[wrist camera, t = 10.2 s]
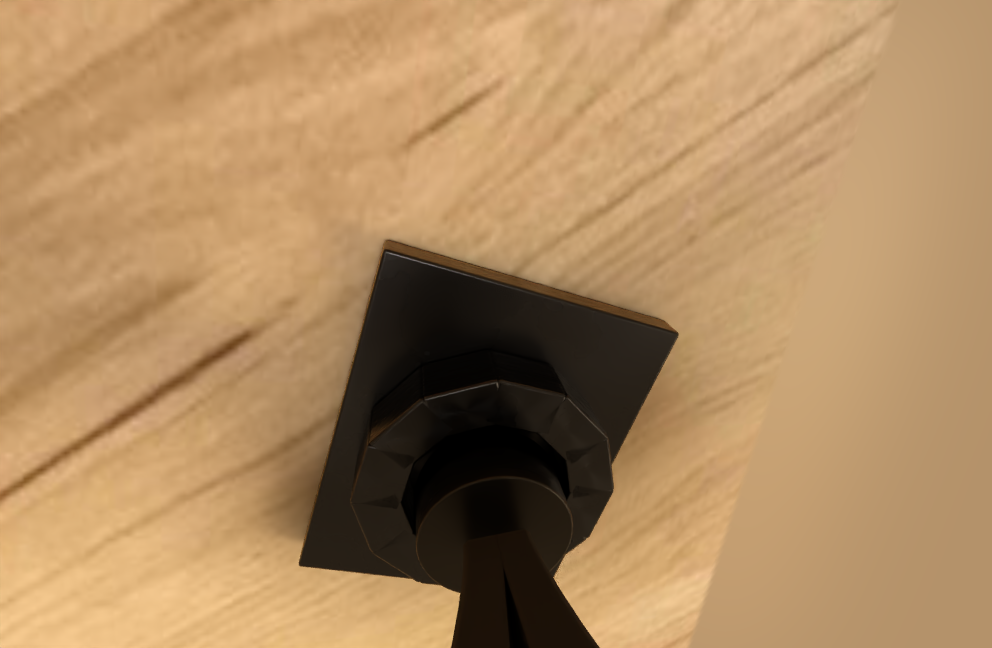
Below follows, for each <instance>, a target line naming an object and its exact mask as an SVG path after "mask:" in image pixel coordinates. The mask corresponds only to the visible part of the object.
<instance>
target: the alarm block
mask: <svg viewBox="0 0 992 648" xmlns="http://www.w3.org/2000/svg"><path fill="white" fill-rule="evenodd" d="M678 335H679V334H678V332H677V331H675V330H674V329H673V328H672V327H671V326H670V325H669V324H667V323H666V322H665V321H663V320H660V319H656V318H653V317H650V316H646V315H643V314H639V313H636V312H632V311H629V310H626V309H622V308H619V307H615V306H612V305H608V304H605V303H602V302H598V301H595V300H591V299H588V298H584V297H581V296H578V295H574V294H571V293H567V292H564V291H560V290H557V289H554V288H550V287H547V286H543V285H540V284H536V283H533V282H530V281H526V280H523V279H519V278H516V277H513V276H509V275H506V274H502V273H499V272H495V271H492V270H489V269H485V268H482V267H478V266H475V265H471V264H468V263H465V262H461V261H458V260H454V259H451V258H447V257H444V256H441V255H437V254H434V253H430V252H427V251H423V250H420V249H417V248H413V247H410V246H406V245H403V244H399V243H396V242H393V241H389V240H387V241H385V243H384V246H383V250H382V254H381V257H380V261H379V265H378V268H377V272H376V276H375V280H374V283H373V287H372V291H371V294H370V298H369V302H368V306H367V309H366V313H365V317H364V320H363V324H362V328H361V332H360V335H359V339H358V343H357V346H356V350H355V354H354V358H353V361H352V365H351V369H350V372H349V376H348V380H347V383H346V387H345V391H344V395H343V398H342V402H341V406H340V409H339V413H338V417H337V421H336V424H335V428H334V432H333V435H332V439H331V443H330V447H329V450H328V454H327V458H326V461H325V465H324V469H323V473H322V476H321V480H320V484H319V487H318V491H317V495H316V499H315V502H314V506H313V510H312V513H311V517H310V521H309V525H308V528H307V532H306V536H305V539H304V543H303V547H302V551H301V555H300V559H299V566H303V567H311V568H320V569H329V570H338V571H347V572H356V573H364V574H373V575H382V576H391V577H400V578H408V579H414V580H415V581H417V582H421V583H425V584H434V585H440V584H438V583H437V582H435V581H434V580H433V579H432V578H431V577H430V576H429V575H428V574H427V573H426V572H425V570H424V569H423V567H422V566H421V564H420V561H419V559H418V556H417V552H416V493H415V491H416V483H417V479H418V476H419V474H420V471H421V469H422V468H423V466H424V464H425V463H426V461H427V460H428V459H429V458H430V457H431V455H432V454H433V453H434V452H436V451H437V450H438V449H439V448H440V447H442V446H443V445H444V444H446V443H447V442H449V441H451V440H453V439H455V438H457V437H459V436H462V435H464V434H468V433H471V432H475V431H480V430H491V429H493V430H506V431H512V432H515V433H519V434H521V435H524V436H526V437H528V438H530V439H531V440H533V441H535V442H536V443H537V444H538V445H540V446H541V447H542V448H543V449H544V451H545V452H546V453H547V455H548V456H549V458H550V460H551V462H552V464H553V467H554V469H555V472H556V475H557V477H558V480H559V482H560V485H561V488H562V490H563V493H564V496H565V498H566V501H567V503H568V506H569V509H570V511H571V515H572V519H573V532H572V538H571V541H570V544H569V547H568V549H567V551H566V552H565V554H564V556H565V555H566V554H567V553H568V552H570V551H571V550H573V549H574V548H575V547H577V546H578V545H579V544H581V543H582V542H583V541H585V540H586V538H588V537H589V536H590V534H591V533H592V531H593V529H594V527H595V525H596V523H597V521H598V519H599V518H600V516H601V514H602V512H603V510H604V508H605V506H606V504H607V502H608V501H609V499H610V497H611V495H612V493H613V489H614V483H613V474H612V463H613V461H614V459H615V458H616V456H617V454H618V452H619V450H620V448H621V446H622V444H623V442H624V440H625V438H626V436H627V434H628V432H629V430H630V428H631V427H632V425H633V423H634V421H635V419H636V417H637V415H638V413H639V411H640V409H641V407H642V405H643V403H644V401H645V399H646V398H647V396H648V394H649V392H650V390H651V388H652V386H653V384H654V382H655V380H656V378H657V376H658V374H659V372H660V370H661V369H662V367H663V365H664V363H665V361H666V359H667V357H668V355H669V353H670V351H671V349H672V347H673V345H674V343H675V341H676V340H677V338H678ZM564 556H563V557H562V559H561V560H560V561H559V562H558V564H557V565H556V566H555V567H554V568H553V569H552V570H551V571H550V573H551V575H552V577H554V575H555V574H556V572H557V570H558V568H559V566H560V564H561V562H562V560H563V558H564Z"/></svg>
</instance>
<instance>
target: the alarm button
mask: <svg viewBox="0 0 992 648" xmlns="http://www.w3.org/2000/svg"><path fill="white" fill-rule="evenodd" d="M415 493H416V552H417V556H418V559H419V561H420V564H421V566H422V567H423V569H424V570H425V572H426V573H427V574H428V575H429V576H430V577H431V578H432V579H433V580H434V581H435V582H437V583H438V584H440V585H442V586H443V587H445V588H447V589H450V590H452V591H455V592H459V593H461V585H462V575H463V545H464V544H465V543H466V542H467V541H468V540H472V539H477V538H482V537H487V536H492V535H497V534H502V533H507V532H512V531H517V530H522V529H526V530H527V531H529V532H530V533H531V536H532V538H533V540H534V543H535V545H536V547H537V549H538V551H539V553H540V555H541V557H542V559H543V561H544V563H545V564H546V566H547V568H548V570H549V571H551V570H552V569H553V568H554V567H555V566H556V565H557V564H558V562H559V561H560V560H561V559H562V557H563V556H564V554H565V552H566V551H567V549H568V547H569V544H570V541H571V538H572V532H573V519H572V515H571V511H570V509H569V506H568V503H567V501H566V498H565V496H564V493H563V490H562V488H561V485H560V482H559V480H558V477H557V475H556V472H555V469H554V467H553V464H552V462H551V460H550V458H549V456H548V455H547V453H546V452H545V451H544V449H543V448H542V447H541V446H540V445H538V444H537V443H536V442H535V441H533V440H531V439H530V438H528V437H526V436H524V435H521V434H519V433H515V432H512V431H506V430H493V429H491V430H480V431H475V432H471V433H468V434H464V435H462V436H459V437H457V438H455V439H453V440H451V441H449V442H447V443H446V444H444V445H443V446H442V447H440V448H439V449H438V450H437V451H436V452H434V453H433V454H432V455H431V457H430V458H429V459H428V460H427V461H426V463H425V464H424V466H423V468H422V469H421V471H420V474H419V476H418V479H417V483H416V491H415Z"/></svg>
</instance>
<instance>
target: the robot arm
mask: <svg viewBox="0 0 992 648" xmlns="http://www.w3.org/2000/svg"><path fill="white" fill-rule="evenodd" d="M451 648H600V647H599V646H598V645H597V643H596V642H595V641H594V639H593V638H592V636H591V635H590V634H589V632H588V631H587V629H586V628H585V627H584V625H583V624H582V622H581V621H580V619H579V618H578V616H577V615H576V613H575V612H574V610H573V609H572V607H571V606H570V604H569V603H568V601H567V600H566V598H565V596H564V595H563V593H562V592H561V590H560V588H559V587H558V585H557V583H556V582H555V580H554V578H553V577H552V575H551V573H550V571H549V570H548V568H547V566H546V564H545V563H544V561H543V559H542V557H541V555H540V553H539V551H538V549H537V547H536V545H535V543H534V540H533V538H532V536H531V533H530V532H529V531H527V530H526V529H522V530H517V531H512V532H507V533H502V534H497V535H492V536H487V537H482V538H477V539H472V540H468V541H467V542H466V543H465V544H464V545H463V575H462V585H461V593H460V601H459V608H458V613H457V619H456V624H455V630H454V635H453V641H452V646H451Z"/></svg>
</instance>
